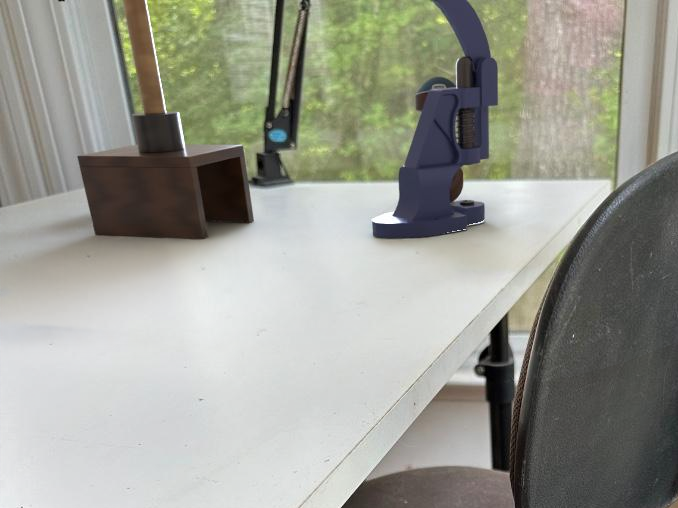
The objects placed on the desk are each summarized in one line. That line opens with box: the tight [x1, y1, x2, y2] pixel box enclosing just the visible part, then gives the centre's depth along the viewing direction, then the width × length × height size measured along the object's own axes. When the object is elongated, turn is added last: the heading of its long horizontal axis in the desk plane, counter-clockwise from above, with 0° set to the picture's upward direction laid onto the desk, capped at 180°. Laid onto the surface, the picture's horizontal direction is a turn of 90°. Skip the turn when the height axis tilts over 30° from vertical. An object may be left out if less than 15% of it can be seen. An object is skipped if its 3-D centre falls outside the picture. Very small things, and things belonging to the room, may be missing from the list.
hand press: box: [371, 0, 499, 239], centre depth 102 cm, size 19×9×28 cm, turn 125°
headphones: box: [414, 76, 464, 203], centre depth 121 cm, size 6×15×22 cm
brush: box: [122, 0, 186, 153], centre depth 106 cm, size 6×6×16 cm
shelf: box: [76, 144, 255, 240], centre depth 113 cm, size 16×12×9 cm
